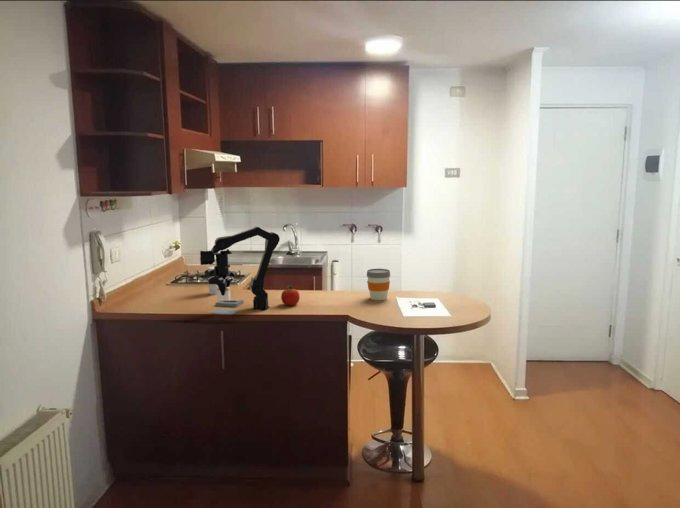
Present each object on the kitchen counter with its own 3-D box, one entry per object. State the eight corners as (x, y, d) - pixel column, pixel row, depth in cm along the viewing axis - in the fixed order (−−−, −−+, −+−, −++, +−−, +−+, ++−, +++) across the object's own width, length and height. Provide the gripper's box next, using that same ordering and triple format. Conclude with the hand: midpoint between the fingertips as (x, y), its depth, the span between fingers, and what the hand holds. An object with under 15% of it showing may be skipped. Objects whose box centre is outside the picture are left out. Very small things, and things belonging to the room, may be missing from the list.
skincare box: (219, 291, 293) (217, 265, 291) (227, 292, 290) (226, 265, 287) (208, 294, 286) (207, 267, 284) (217, 295, 283) (215, 268, 280)
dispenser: (243, 303, 264) (243, 299, 263) (236, 307, 256) (236, 303, 255) (223, 302, 267) (222, 298, 266) (215, 306, 259) (215, 301, 259)
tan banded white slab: (230, 299, 247) (229, 286, 246) (228, 300, 245) (228, 287, 244) (219, 299, 249) (218, 286, 248) (217, 300, 247) (216, 287, 246)
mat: (239, 310, 250) (239, 309, 250) (232, 315, 242) (232, 314, 242) (217, 309, 253) (217, 308, 253) (209, 313, 246) (209, 312, 245)
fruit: (283, 307, 254) (282, 288, 253) (280, 303, 263) (279, 284, 262) (301, 306, 257) (301, 287, 255) (298, 301, 266) (297, 283, 264)
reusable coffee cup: (363, 299, 268) (362, 272, 265) (372, 294, 279) (372, 267, 276) (384, 302, 262) (384, 273, 260) (393, 296, 273) (393, 269, 271)
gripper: (216, 259, 255) (218, 289, 257) (197, 266, 237) (199, 298, 240) (236, 260, 252) (238, 290, 255) (218, 267, 234) (220, 299, 237)
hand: (224, 294), depth 246 cm, fingers closed on tan banded white slab, 2 cm apart
